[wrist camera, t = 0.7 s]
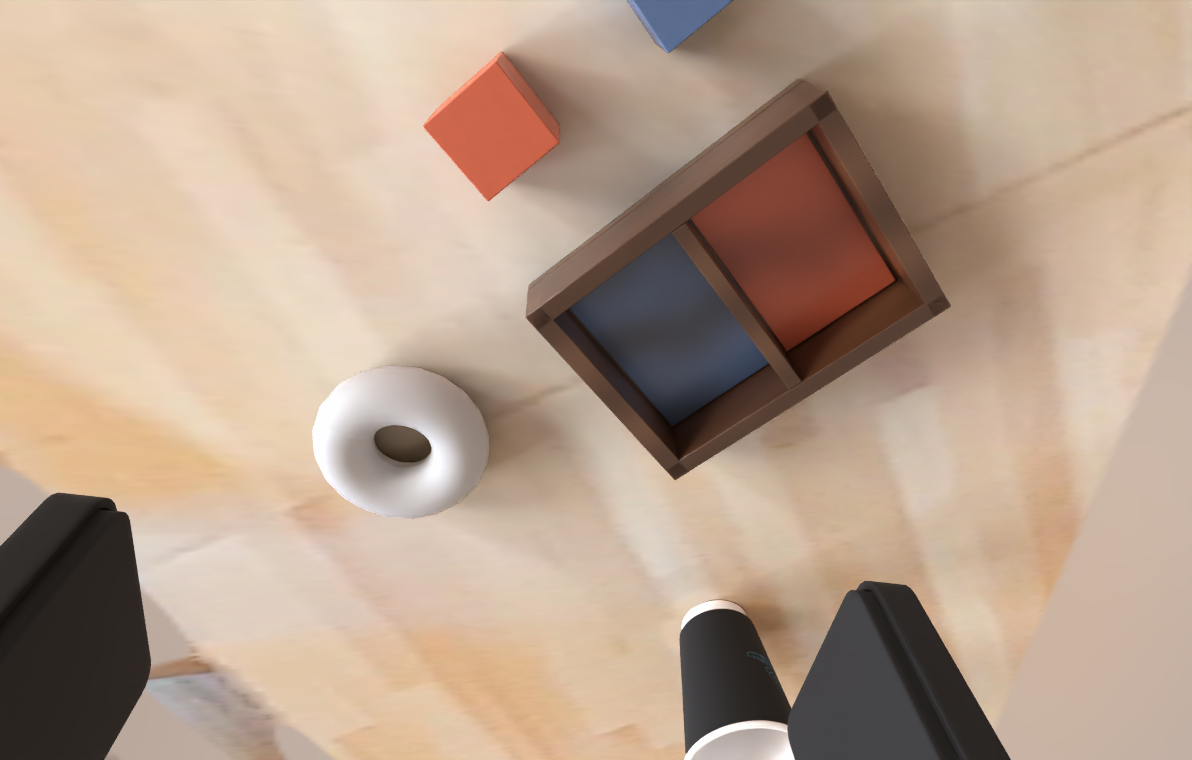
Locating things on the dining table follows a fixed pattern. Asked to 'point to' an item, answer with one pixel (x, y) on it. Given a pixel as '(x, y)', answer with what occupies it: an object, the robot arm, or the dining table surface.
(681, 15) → the slate block
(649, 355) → the sorting tray
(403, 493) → the donut
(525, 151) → the terracotta block
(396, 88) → the dining table surface
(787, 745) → the dixie cup
